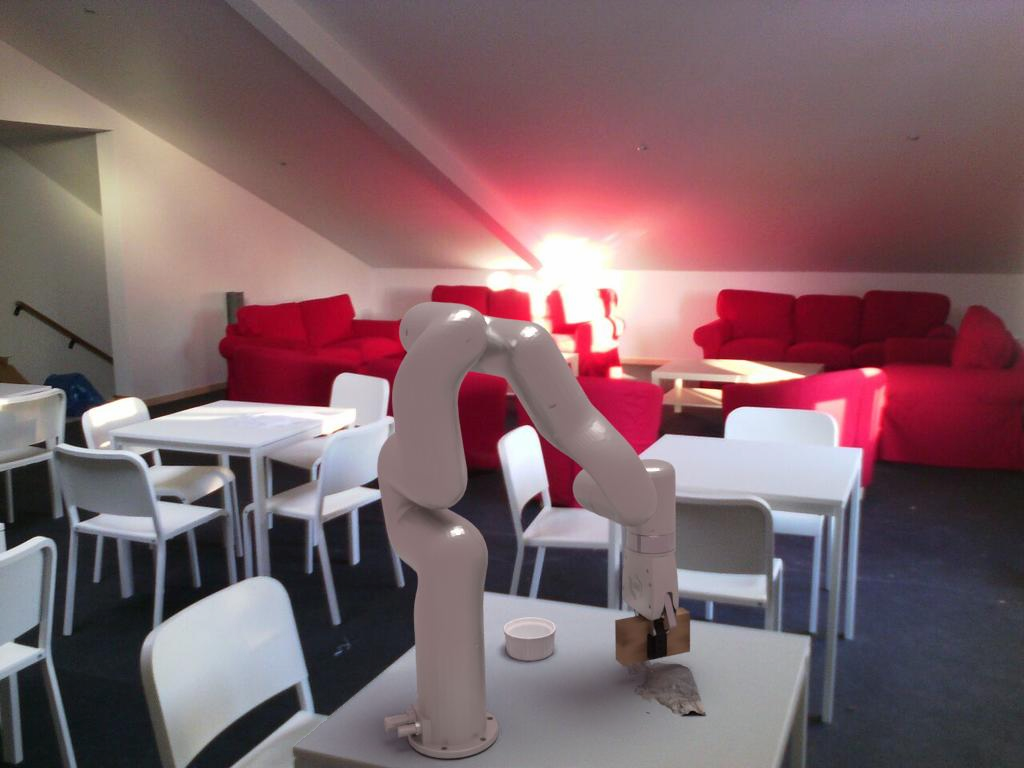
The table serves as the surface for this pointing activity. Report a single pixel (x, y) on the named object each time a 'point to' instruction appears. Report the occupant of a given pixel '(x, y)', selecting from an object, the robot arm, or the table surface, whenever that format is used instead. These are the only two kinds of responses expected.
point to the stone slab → (668, 686)
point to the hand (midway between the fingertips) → (651, 651)
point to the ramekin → (529, 638)
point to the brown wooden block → (634, 638)
